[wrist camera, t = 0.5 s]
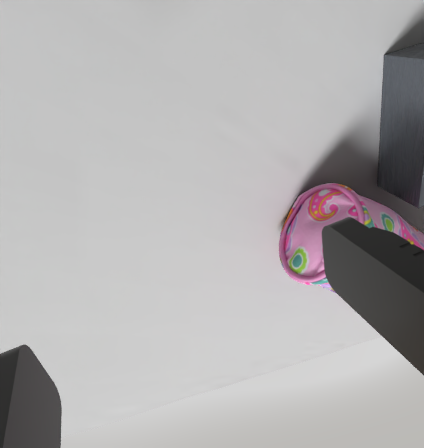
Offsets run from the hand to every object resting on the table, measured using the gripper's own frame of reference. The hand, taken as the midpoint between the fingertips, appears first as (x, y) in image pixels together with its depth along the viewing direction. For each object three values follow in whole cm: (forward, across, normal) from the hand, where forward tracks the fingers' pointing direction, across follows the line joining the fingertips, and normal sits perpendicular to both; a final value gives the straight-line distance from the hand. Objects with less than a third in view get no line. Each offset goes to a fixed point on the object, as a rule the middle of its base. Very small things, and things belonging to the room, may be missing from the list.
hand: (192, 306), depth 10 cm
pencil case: (+20, -20, +17) cm, 33 cm away
